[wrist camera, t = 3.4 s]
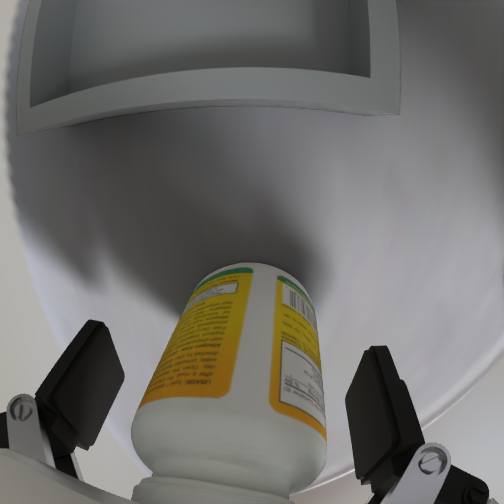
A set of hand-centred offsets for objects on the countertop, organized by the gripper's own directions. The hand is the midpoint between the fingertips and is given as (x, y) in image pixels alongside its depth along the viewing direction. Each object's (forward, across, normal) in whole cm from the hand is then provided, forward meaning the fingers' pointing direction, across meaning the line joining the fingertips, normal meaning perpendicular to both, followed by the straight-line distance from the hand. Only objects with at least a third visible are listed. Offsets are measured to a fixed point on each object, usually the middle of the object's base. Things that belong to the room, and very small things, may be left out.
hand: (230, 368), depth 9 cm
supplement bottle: (+3, 0, 0) cm, 3 cm away
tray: (+3, +2, -14) cm, 15 cm away
